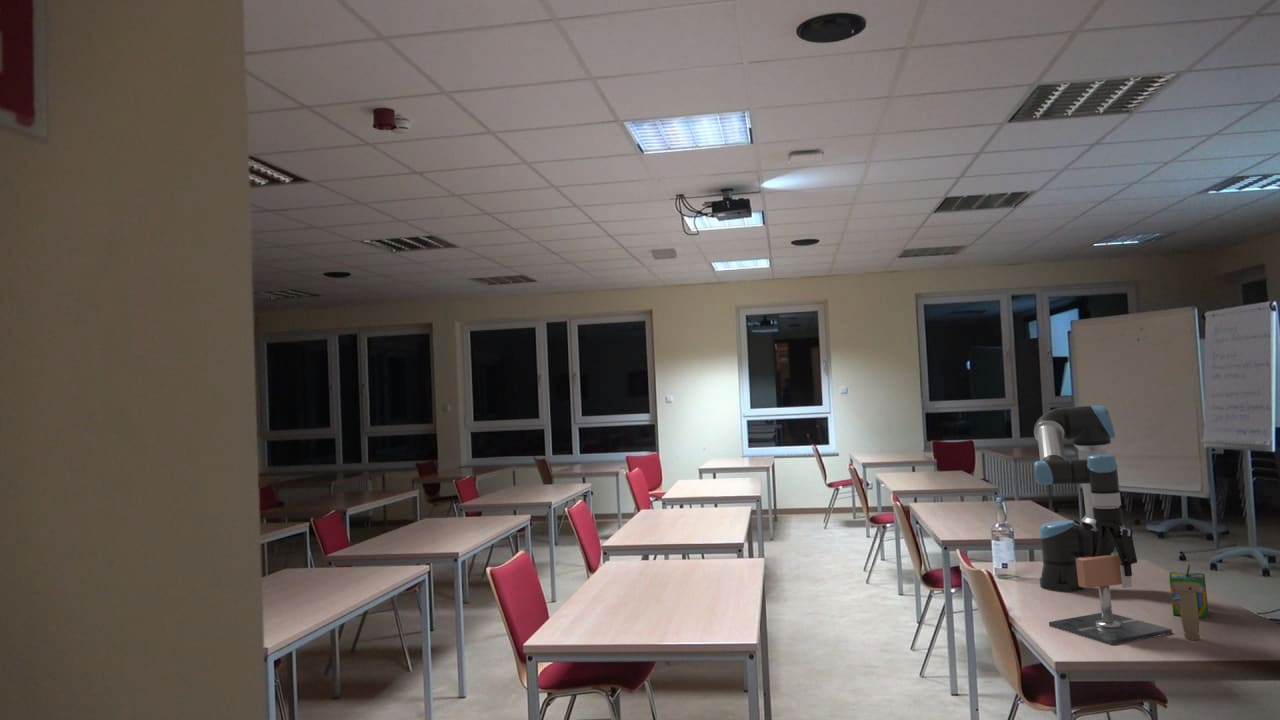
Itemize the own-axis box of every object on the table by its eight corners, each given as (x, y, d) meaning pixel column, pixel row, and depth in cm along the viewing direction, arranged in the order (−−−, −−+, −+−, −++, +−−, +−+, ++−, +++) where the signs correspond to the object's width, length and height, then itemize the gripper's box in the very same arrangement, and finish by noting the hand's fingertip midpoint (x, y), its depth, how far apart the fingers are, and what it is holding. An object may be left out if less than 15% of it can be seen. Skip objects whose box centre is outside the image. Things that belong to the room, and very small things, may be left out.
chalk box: (1173, 608, 244) (1167, 560, 245) (1208, 610, 239) (1202, 562, 240) (1172, 615, 237) (1166, 566, 238) (1209, 618, 231) (1203, 568, 232)
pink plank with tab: (1078, 586, 229) (1075, 556, 230) (1121, 581, 231) (1117, 551, 232) (1085, 588, 226) (1082, 557, 227) (1128, 583, 228) (1125, 553, 229)
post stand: (1106, 615, 241) (1101, 574, 242) (1172, 633, 220) (1166, 588, 221) (1049, 626, 235) (1044, 583, 236) (1111, 645, 214) (1105, 598, 215)
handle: (1209, 641, 211) (1202, 585, 213) (1183, 641, 213) (1176, 586, 214) (1201, 636, 216) (1194, 581, 217) (1175, 636, 217) (1168, 582, 219)
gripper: (1146, 508, 223) (1156, 589, 221) (1089, 502, 242) (1097, 577, 240) (1126, 511, 221) (1135, 592, 219) (1070, 505, 240) (1078, 580, 238)
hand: (1115, 584), depth 230 cm, fingers open, 7 cm apart
